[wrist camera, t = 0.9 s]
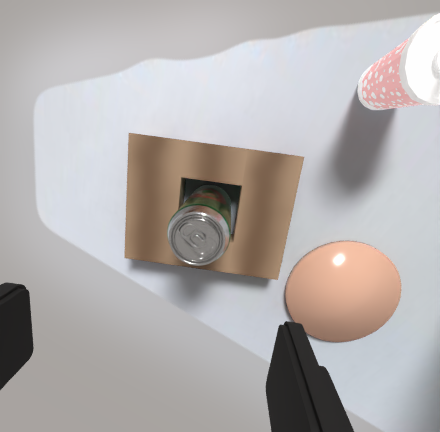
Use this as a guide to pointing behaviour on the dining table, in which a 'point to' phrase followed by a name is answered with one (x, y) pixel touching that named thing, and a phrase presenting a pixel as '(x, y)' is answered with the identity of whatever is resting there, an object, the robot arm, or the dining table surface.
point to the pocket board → (216, 172)
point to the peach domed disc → (343, 291)
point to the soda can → (201, 226)
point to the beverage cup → (405, 72)
